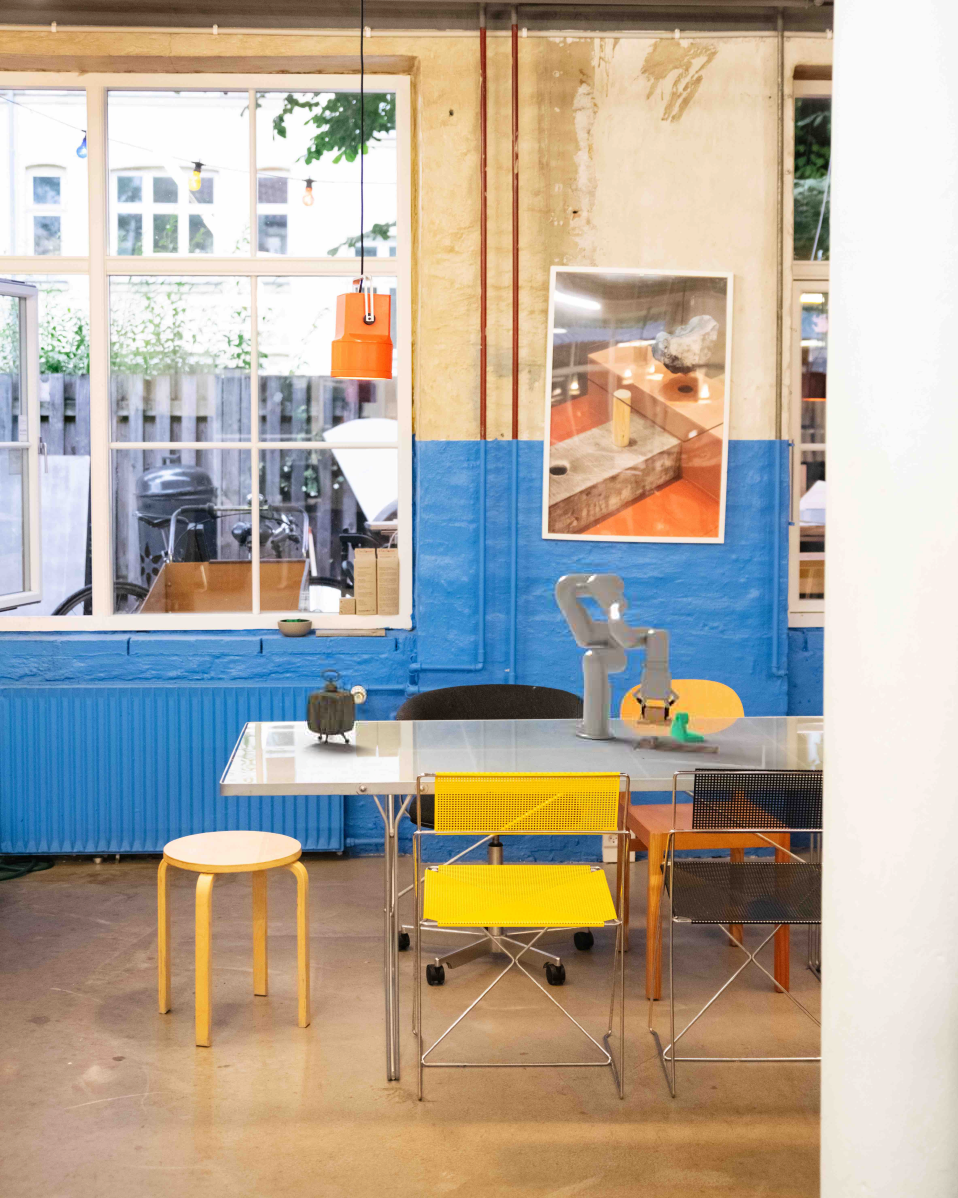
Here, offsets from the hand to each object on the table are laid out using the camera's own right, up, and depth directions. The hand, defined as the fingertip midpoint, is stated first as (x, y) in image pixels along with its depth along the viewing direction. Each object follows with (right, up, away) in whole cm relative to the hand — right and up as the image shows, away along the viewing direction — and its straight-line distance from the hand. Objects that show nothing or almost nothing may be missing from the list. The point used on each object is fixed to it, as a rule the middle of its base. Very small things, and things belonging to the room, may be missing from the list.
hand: (655, 717), depth 388 cm
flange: (0, -2, 0) cm, 2 cm away
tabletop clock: (-110, -8, -5) cm, 110 cm away
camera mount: (+14, -10, +17) cm, 24 cm away
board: (+7, -11, -1) cm, 13 cm away
